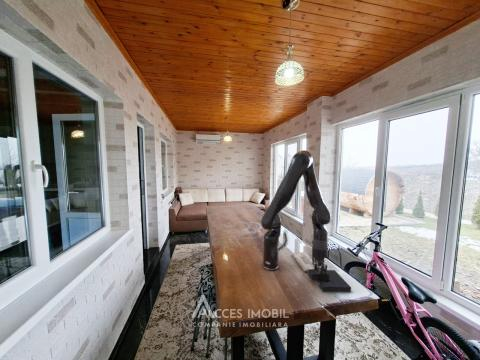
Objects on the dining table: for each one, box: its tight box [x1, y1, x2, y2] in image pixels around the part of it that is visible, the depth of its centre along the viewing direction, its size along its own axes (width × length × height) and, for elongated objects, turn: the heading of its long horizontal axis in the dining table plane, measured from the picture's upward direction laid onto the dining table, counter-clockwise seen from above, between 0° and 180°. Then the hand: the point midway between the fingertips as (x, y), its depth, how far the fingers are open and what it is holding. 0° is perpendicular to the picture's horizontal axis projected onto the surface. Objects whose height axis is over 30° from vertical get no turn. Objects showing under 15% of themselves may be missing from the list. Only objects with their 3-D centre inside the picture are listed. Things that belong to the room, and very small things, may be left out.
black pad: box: [307, 269, 329, 282], centre depth 103 cm, size 5×9×4 cm, turn 91°
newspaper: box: [291, 251, 320, 273], centre depth 125 cm, size 23×12×2 cm, turn 4°
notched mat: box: [318, 269, 352, 293], centre depth 103 cm, size 16×14×2 cm
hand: (318, 277), depth 103 cm, fingers closed on black pad, 5 cm apart
